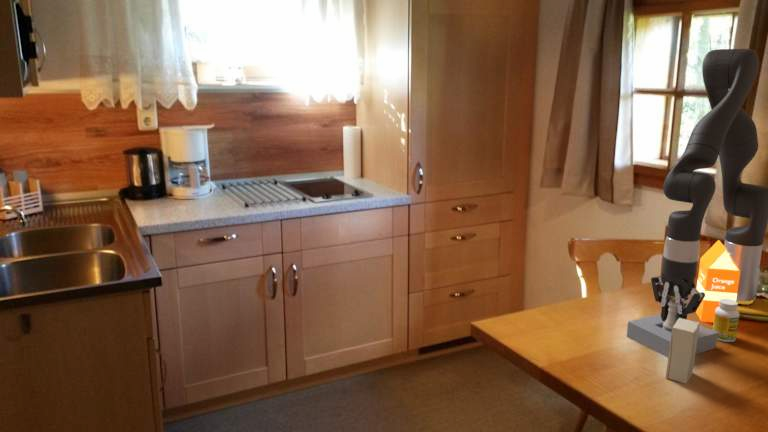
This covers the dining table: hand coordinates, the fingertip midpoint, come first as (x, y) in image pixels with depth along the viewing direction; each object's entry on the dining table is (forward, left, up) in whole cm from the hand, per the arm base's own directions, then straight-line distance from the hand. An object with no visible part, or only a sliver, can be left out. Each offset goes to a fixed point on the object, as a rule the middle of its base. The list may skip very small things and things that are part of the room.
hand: (672, 323), depth 152 cm
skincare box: (+12, +13, -5) cm, 18 cm away
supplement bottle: (-14, +4, -5) cm, 15 cm away
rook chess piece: (0, 0, -2) cm, 2 cm away
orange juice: (-23, -6, -5) cm, 24 cm away
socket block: (0, 0, -5) cm, 5 cm away
